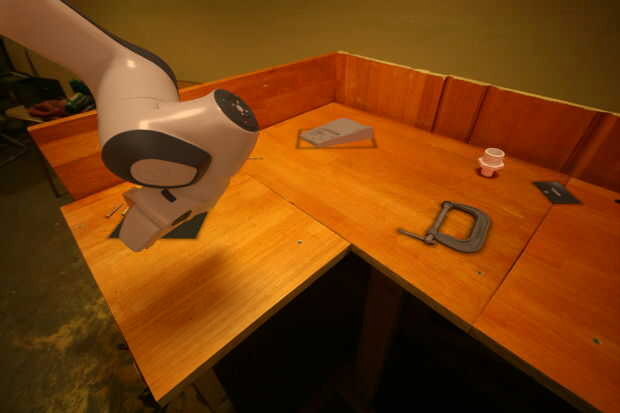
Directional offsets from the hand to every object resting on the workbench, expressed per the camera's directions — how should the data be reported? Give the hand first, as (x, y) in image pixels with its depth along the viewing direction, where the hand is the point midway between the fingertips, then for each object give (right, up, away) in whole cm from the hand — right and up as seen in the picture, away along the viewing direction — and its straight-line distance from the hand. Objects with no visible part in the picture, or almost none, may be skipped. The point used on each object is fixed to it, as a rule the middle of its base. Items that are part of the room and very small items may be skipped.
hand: (167, 230), depth 55 cm
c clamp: (+61, -1, +21) cm, 65 cm away
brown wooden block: (-16, 0, +23) cm, 28 cm away
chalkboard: (-13, 0, +25) cm, 28 cm away
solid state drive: (+96, +8, +30) cm, 101 cm away
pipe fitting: (+81, +14, +39) cm, 91 cm away
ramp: (+36, +30, +60) cm, 76 cm away
